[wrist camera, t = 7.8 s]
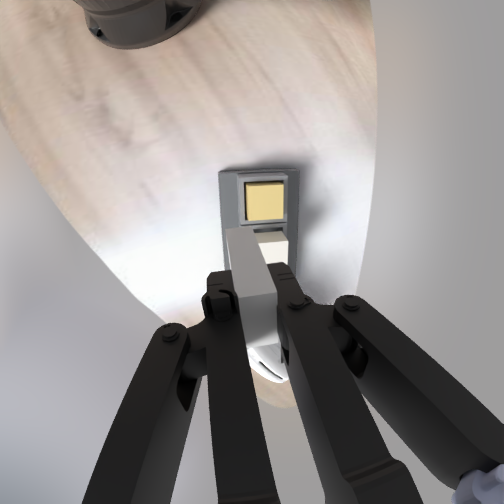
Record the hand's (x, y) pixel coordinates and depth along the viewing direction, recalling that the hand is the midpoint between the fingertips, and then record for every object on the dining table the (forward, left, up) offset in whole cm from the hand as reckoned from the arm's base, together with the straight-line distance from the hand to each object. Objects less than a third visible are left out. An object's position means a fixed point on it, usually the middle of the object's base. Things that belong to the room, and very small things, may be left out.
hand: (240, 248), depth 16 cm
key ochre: (+1, +4, -18) cm, 18 cm away
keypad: (+7, +4, -20) cm, 21 cm away
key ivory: (+7, +4, -15) cm, 17 cm away
